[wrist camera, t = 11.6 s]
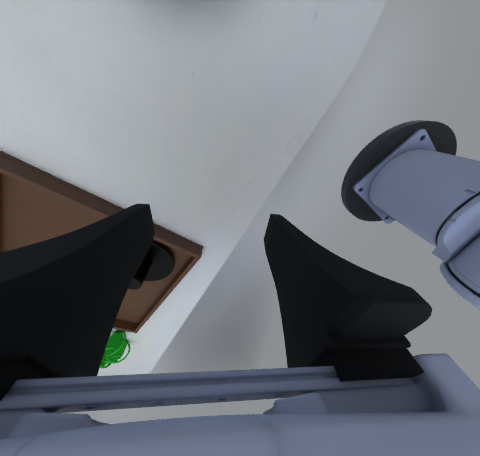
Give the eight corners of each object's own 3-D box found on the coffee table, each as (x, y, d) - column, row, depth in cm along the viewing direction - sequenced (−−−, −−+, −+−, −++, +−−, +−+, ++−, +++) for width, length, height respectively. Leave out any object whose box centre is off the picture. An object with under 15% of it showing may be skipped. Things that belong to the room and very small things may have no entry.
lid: (180, 243, 23) (171, 269, 19) (170, 279, 27) (162, 306, 23) (113, 227, 20) (89, 253, 17) (114, 269, 25) (94, 297, 21)
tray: (202, 246, 24) (201, 256, 22) (140, 322, 35) (136, 333, 33) (-1, 150, 15) (-28, 155, 14) (0, 290, 26) (-14, 302, 25)
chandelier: (142, 328, 36) (127, 368, 30) (125, 353, 43) (110, 390, 37) (56, 311, 30) (18, 357, 25) (51, 343, 37) (21, 385, 32)
